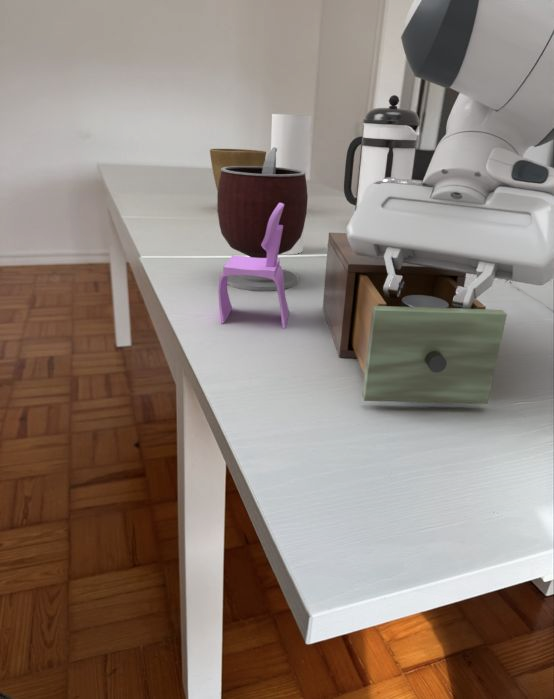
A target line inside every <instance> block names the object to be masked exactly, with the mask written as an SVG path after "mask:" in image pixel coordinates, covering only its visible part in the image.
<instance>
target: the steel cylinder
mask: <svg viewBox="0 0 554 699" xmlns="http://www.w3.org/2000/svg"><path fill="white" fill-rule="evenodd" d="M401 307H427V308H449V304H448V303H447V302H446V301H444V300H442V299H440V298H436V297H432V296H426V295H409V296H405V297H403V298H402V301H401Z"/></svg>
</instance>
